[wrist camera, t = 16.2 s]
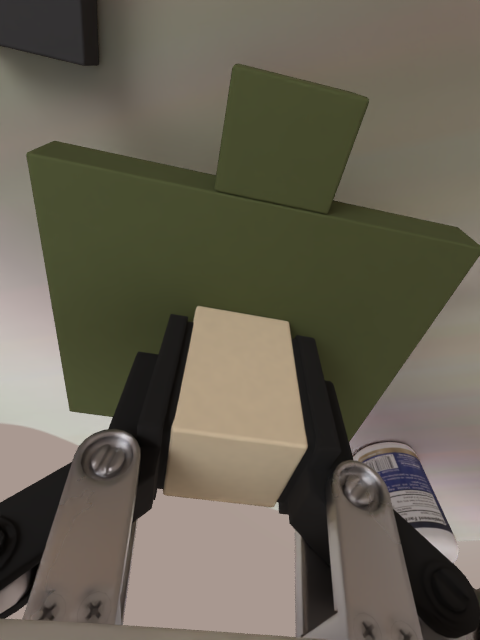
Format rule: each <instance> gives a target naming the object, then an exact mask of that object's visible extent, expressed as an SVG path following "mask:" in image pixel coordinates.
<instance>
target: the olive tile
mask: <svg viewBox="0 0 480 640" xmlns="http://www.w3.org/2000/svg"><path fill="white" fill-rule="evenodd" d="M368 103H369V99H368V98H367V97H364V96H361V95H358V94H356V93H353V92H349V91H345V90H341V89H337V88H333V87H329V86H325V85H321V84H317V83H313V82H309V81H305V80H301V79H297V78H293V77H290V76H286V75H282V74H278V73H274V72H270V71H266V70H262V69H258V68H254V67H250V66H246V65H242V64H236V65H234V67H233V68H232V74H231V80H230V87H229V94H228V100H227V107H226V114H225V120H224V127H223V134H222V140H221V147H220V153H219V160H218V167H217V173H216V175H211V174H207V173H202V172H197V171H193V170H188V169H183V168H179V167H174V166H169V165H165V164H160V163H155V162H151V161H146V160H141V159H137V158H132V157H127V156H123V155H118V154H113V153H109V152H104V151H99V150H95V149H90V148H86V147H81V146H76V145H72V144H67V143H62V142H58V141H53V142H50V143H48V144H46V145H44V146H41V147H39V148H37V149H34V150H32V151H30V152H27V155H26V156H27V162H28V168H29V173H30V179H31V185H32V191H33V197H34V203H35V209H36V215H37V221H38V227H39V232H40V238H41V244H42V250H43V256H44V262H45V268H46V274H47V280H48V285H49V291H50V297H51V303H52V309H53V315H54V321H55V327H56V333H57V339H58V344H59V350H60V356H61V362H62V368H63V374H64V380H65V386H66V392H67V398H68V403H69V409H70V411H72V412H79V413H87V414H94V415H102V416H109V417H113V416H114V413H115V410H116V408H117V405H118V402H119V400H120V397H121V394H122V392H123V389H124V386H125V384H126V381H127V378H128V376H129V373H130V370H131V368H132V365H133V362H134V360H135V357H136V355H137V353H138V351H139V352H146V353H152V354H159V351H160V348H161V344H162V341H163V338H164V334H165V331H166V328H167V324H168V321H169V318H170V315H171V314H175V315H181V316H187V317H188V321H189V322H193V323H194V325H193V330H192V335H191V340H190V345H189V350H188V355H187V360H186V365H185V370H184V375H183V380H182V385H181V390H180V395H179V400H178V405H177V409H176V414H175V418H174V421H173V424H172V427H171V436H170V444H169V452H168V459H167V467H166V475H165V482H164V489H163V494H164V495H167V496H175V497H176V496H177V497H185V498H193V499H202V500H211V501H221V502H229V503H239V504H247V505H255V506H264V507H274V506H275V504H276V502H277V500H278V499H279V497H280V495H281V493H282V492H283V490H284V488H285V487H286V485H287V483H288V481H289V480H290V478H291V476H292V474H293V473H294V471H295V469H296V468H297V466H298V464H299V462H300V461H301V459H302V457H303V455H304V454H305V452H306V450H307V448H308V444H307V437H306V433H305V426H304V419H303V413H302V406H301V400H300V393H299V386H298V380H297V373H296V367H295V360H294V354H293V347H292V339H294V338H295V336H296V335H300V336H306V337H312V338H314V339H315V341H316V346H317V350H318V354H319V358H320V363H321V367H322V371H323V375H324V380H326V381H331V382H332V383H333V385H334V387H335V391H336V395H337V399H338V403H339V406H340V410H341V414H342V418H343V422H344V426H345V429H346V433H347V437H348V441H350V440H351V439H352V437H353V436H354V434H355V433H356V431H357V430H358V429H359V427H360V426H361V424H362V423H363V421H364V420H365V419H366V417H367V416H368V414H369V413H370V411H371V410H372V409H373V407H374V406H375V404H376V403H377V401H378V400H379V399H380V397H381V396H382V394H383V393H384V391H385V390H386V389H387V387H388V386H389V384H390V383H391V381H392V380H393V379H394V377H395V376H396V374H397V373H398V371H399V370H400V369H401V367H402V366H403V364H404V363H405V361H406V360H407V359H408V357H409V356H410V354H411V353H412V351H413V350H414V349H415V347H416V346H417V344H418V343H419V341H420V340H421V339H422V337H423V336H424V334H425V333H426V331H427V330H428V329H429V327H430V326H431V324H432V323H433V321H434V320H435V318H436V317H437V316H438V314H439V313H440V311H441V310H442V308H443V307H444V306H445V304H446V303H447V301H448V300H449V298H450V297H451V296H452V294H453V293H454V291H455V290H456V288H457V287H458V286H459V284H460V283H461V281H462V280H463V278H464V277H465V276H466V274H467V273H468V271H469V270H470V268H471V267H472V266H473V264H474V263H475V261H476V260H477V258H478V257H479V256H480V245H479V244H477V243H476V242H475V241H474V240H473V239H471V238H470V237H469V236H468V235H466V234H465V233H464V232H463V231H462V230H460V229H459V228H458V227H453V226H449V225H444V224H439V223H435V222H430V221H425V220H421V219H416V218H411V217H407V216H402V215H397V214H393V213H388V212H384V211H379V210H374V209H370V208H365V207H360V206H356V205H351V204H346V203H342V202H337V201H333V199H334V196H335V193H336V191H337V188H338V185H339V182H340V180H341V177H342V174H343V172H344V169H345V166H346V163H347V161H348V158H349V155H350V152H351V150H352V147H353V144H354V142H355V139H356V136H357V133H358V131H359V128H360V125H361V122H362V120H363V117H364V114H365V112H366V109H367V106H368Z"/></svg>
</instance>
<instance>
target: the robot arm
mask: <svg viewBox="0 0 480 640" xmlns="http://www.w3.org/2000/svg"><path fill="white" fill-rule="evenodd" d="M193 325H194V323H193V322H189V321H188V317H187V316H181V315H175V314H171V315H170V318H169V321H168V324H167V328H166V331H165V334H164V338H163V341H162V344H161V348H160V351H159V354H152V353H146V352H139V351H138V353H137V355H136V357H135V360H134V362H133V365H132V368H131V370H130V373H129V376H128V378H127V381H126V384H125V386H124V389H123V392H122V394H121V397H120V400H119V402H118V405H117V408H116V410H115V413H114V416H113V418H112V421H111V424H110V426H109V429H108V430H103V431H100V432H97V433H94V434H93V435H91V436H90V437H88V438H86V439H85V440H84V441H83V443H82V444H81V445H80V446H79V447H78V449H77V451H76V453H75V455H74V459H73V461H72V462H71V463H70V464H68V465H66V466H64V467H62V468H60V469H59V470H57V471H55V472H53V473H52V474H50V475H48V476H46V477H45V478H43V479H41V480H39V481H38V482H36V483H34V484H32V485H31V486H29V487H27V488H25V489H24V490H22V491H20V492H18V493H16V494H15V495H13V496H11V497H9V498H8V499H6V500H4V501H3V502H1V503H0V640H480V588H479V589H477V590H476V589H474V588H473V587H472V586H471V584H470V583H469V581H468V580H467V578H466V577H465V575H464V574H463V573H462V572H461V571H460V570H459V569H458V568H457V567H456V566H455V565H454V564H453V563H452V562H451V561H450V560H449V559H448V558H447V557H445V556H444V555H443V554H442V553H441V552H440V551H439V550H438V549H437V548H436V547H434V546H433V545H432V544H431V543H430V542H429V541H428V540H427V539H426V538H425V537H424V536H422V535H421V534H420V533H419V532H418V531H417V530H416V529H415V528H414V527H413V526H411V525H410V524H409V523H408V522H407V521H406V520H405V519H404V518H403V517H402V516H401V515H399V514H398V513H397V512H396V511H395V510H394V509H393V507H392V503H391V499H390V494H389V491H388V489H387V486H386V484H385V482H384V481H383V479H382V478H381V476H380V475H379V474H378V473H377V472H376V471H375V470H374V469H373V468H371V467H369V466H368V465H366V464H365V463H362V462H359V461H355V460H353V456H352V452H351V449H350V445H349V441H348V437H347V433H346V429H345V426H344V422H343V418H342V414H341V410H340V406H339V403H338V399H337V395H336V391H335V387H334V385H333V383H332V382H331V381H326V380H324V375H323V371H322V367H321V363H320V358H319V354H318V350H317V346H316V341H315V339H314V338H312V337H306V336H300V335H296V336H295V338H294V339H292V347H293V354H294V360H295V367H296V373H297V380H298V386H299V393H300V400H301V406H302V413H303V419H304V426H305V433H306V437H307V444H308V448H307V450H306V452H305V454H304V455H303V457H302V459H301V461H300V462H299V464H298V466H297V468H296V469H295V471H294V473H293V474H292V476H291V478H290V480H289V481H288V483H287V485H286V487H285V488H284V490H283V492H282V493H281V495H280V497H279V499H278V500H277V502H278V503H279V513H280V514H288V515H289V521H290V524H291V525H292V526H293V527H294V529H295V603H296V604H295V610H296V611H295V612H296V637H284V636H272V635H257V634H243V633H228V632H214V631H201V630H186V629H170V628H155V627H140V626H126V625H123V620H124V612H125V606H126V599H127V591H128V585H129V578H130V570H131V563H132V556H133V549H134V541H135V534H136V528H137V520H138V518H139V517H141V516H142V515H144V514H145V513H146V512H147V511H149V510H150V509H151V508H152V504H153V500H155V497H156V493H157V488H158V489H164V482H165V475H166V467H167V459H168V452H169V444H170V436H171V427H172V424H173V421H174V418H175V414H176V409H177V405H178V400H179V395H180V390H181V385H182V380H183V375H184V370H185V365H186V360H187V355H188V350H189V345H190V340H191V335H192V330H193ZM26 604H27V607H26V610H25V613H24V616H23V619H22V620H21V619H5V618H6V617H8V616H10V615H11V614H13V613H15V612H17V611H18V610H19V609H20V608H22V607H23V606H24V605H26Z"/></svg>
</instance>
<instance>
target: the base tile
mask: <svg viewBox="0 0 480 640" xmlns="http://www.w3.org/2000/svg"><path fill="white" fill-rule="evenodd" d="M0 46H3V47H8V48H12V49H16V50H20V51H24V52H29V53H33V54H37V55H41V56H45V57H50V58H54V59H58V60H62V61H66V62H71V63H75V64H79V65H83V66H90V65H98V64H99V56H98V29H97V2H96V0H0Z"/></svg>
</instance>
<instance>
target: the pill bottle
mask: <svg viewBox="0 0 480 640" xmlns="http://www.w3.org/2000/svg"><path fill="white" fill-rule="evenodd" d="M353 460H355V461H359V462H362V463H365V464H366V465H368V466H369V467H371V468H373V469H374V470H375V471H376V472H377V473H378V474H379V475H380V476H381V478H382V479H383V481H384V482H385V484H386V486H387V489H388V491H389V494H390V499H391V503H392V507H393V509H394V510H395V511H396V512H397V513H398V514H399V515H401V516H402V517H403V518H404V519H405V520H406V521H407V522H408V523H409V524H410V525H411V526H413V527H414V528H415V529H416V530H417V531H418V532H419V533H420V534H421V535H422V536H424V537H425V538H426V539H427V540H428V541H429V542H430V543H431V544H432V545H433V546H434V547H436V548H437V549H438V550H439V551H440V552H441V553H442V554H443V555H444V556H445V557H447V558H448V559H449V560H450V561H451V562H452V563H454V562H455V561H456V559H457V557H458V554H459V548H458V544H457V541H456V539H455V537H454V534H453V532H452V530H451V528H450V526H449V524H448V522H447V519H446V517H445V515H444V513H443V511H442V509H441V506H440V504H439V502H438V500H437V498H436V496H435V494H434V491H433V489H432V487H431V485H430V483H429V481H428V478H427V476H426V474H425V472H424V470H423V468H422V465H421V463H420V461H419V459H418V457H417V455H416V453H415V452H414V450H413V449H412V448H410V447H409V446H407V445H405V444H402V443H396V442H383V443H377V444H373V445H370V446H367V447H365V448H363V449H362V450H360V451H359V452H358V453H356V454H355V456H354V457H353Z"/></svg>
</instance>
